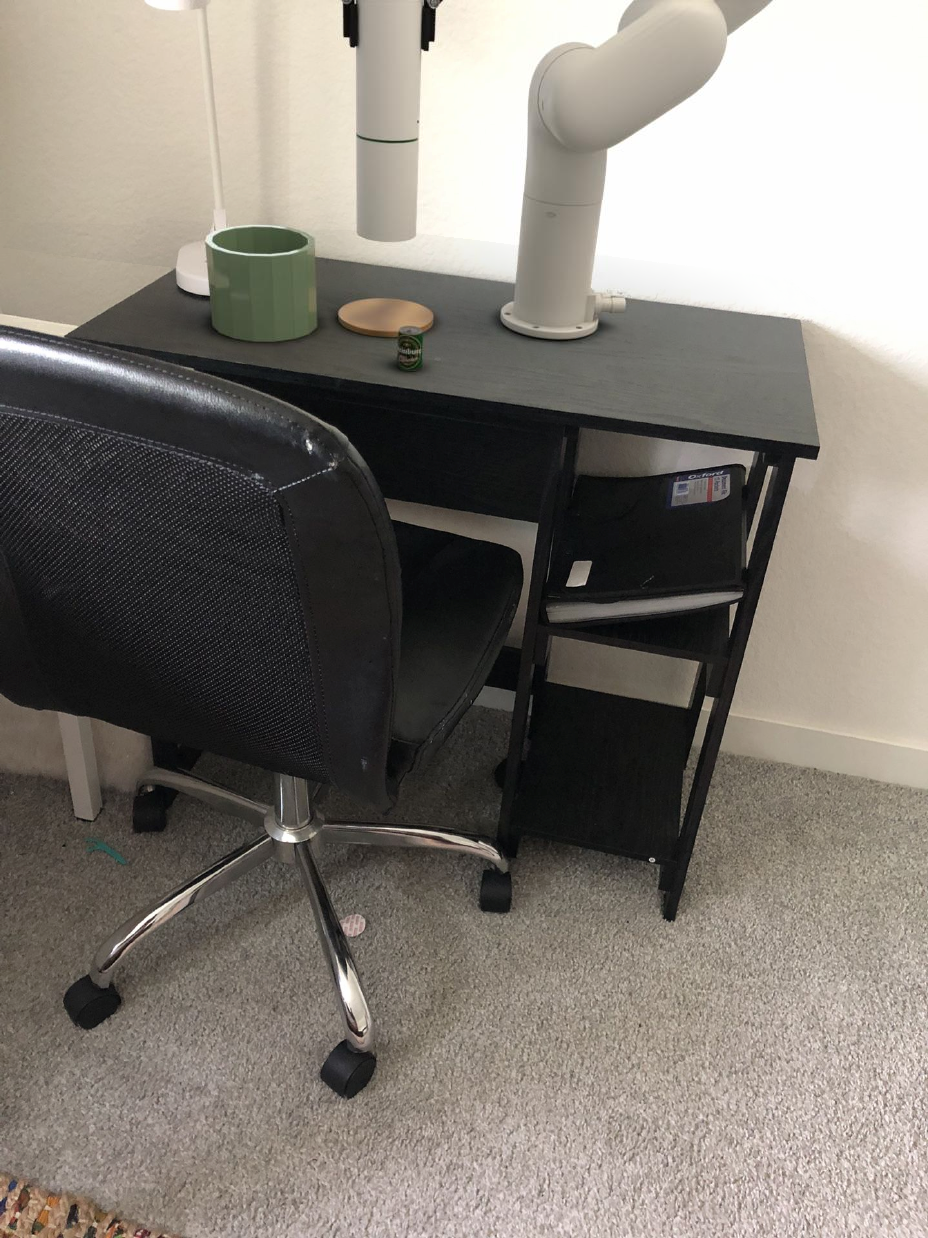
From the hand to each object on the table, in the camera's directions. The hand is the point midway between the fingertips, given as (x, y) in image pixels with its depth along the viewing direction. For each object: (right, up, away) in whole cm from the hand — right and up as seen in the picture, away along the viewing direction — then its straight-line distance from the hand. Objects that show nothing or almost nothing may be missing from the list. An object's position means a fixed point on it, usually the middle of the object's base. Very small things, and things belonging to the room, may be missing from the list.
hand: (388, 46), depth 110 cm
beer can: (+2, -34, +6) cm, 34 cm away
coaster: (-2, -25, +18) cm, 30 cm away
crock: (-16, -26, +15) cm, 34 cm away
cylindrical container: (-1, -16, +12) cm, 20 cm away
